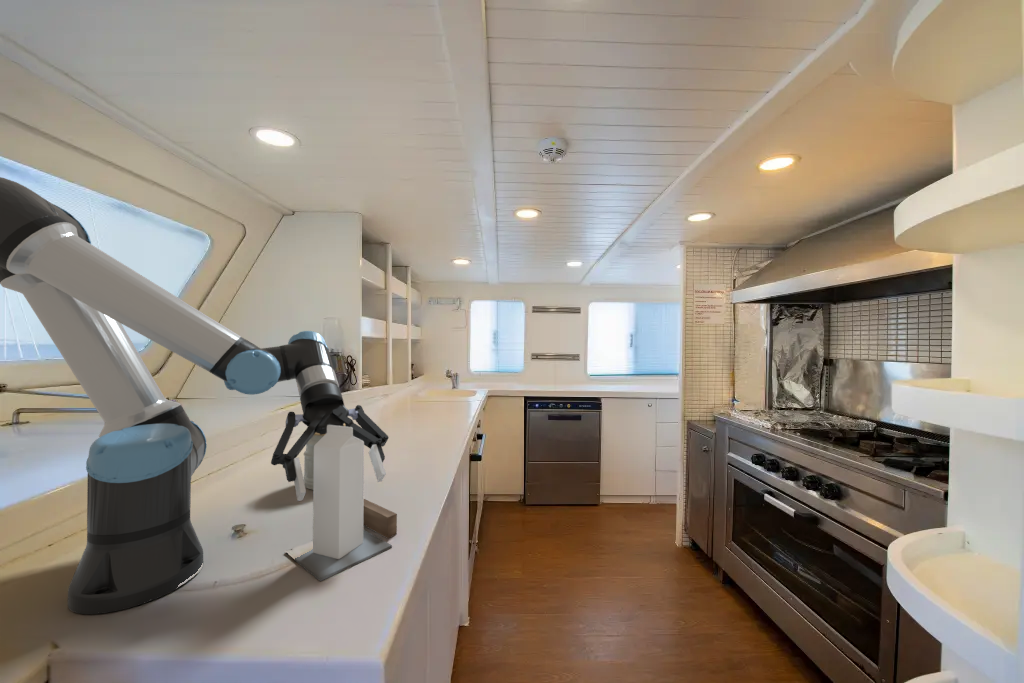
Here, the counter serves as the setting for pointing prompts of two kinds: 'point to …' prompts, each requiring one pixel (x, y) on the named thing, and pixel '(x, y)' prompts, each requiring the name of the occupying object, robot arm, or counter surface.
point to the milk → (338, 492)
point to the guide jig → (371, 546)
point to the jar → (310, 460)
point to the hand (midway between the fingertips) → (344, 486)
